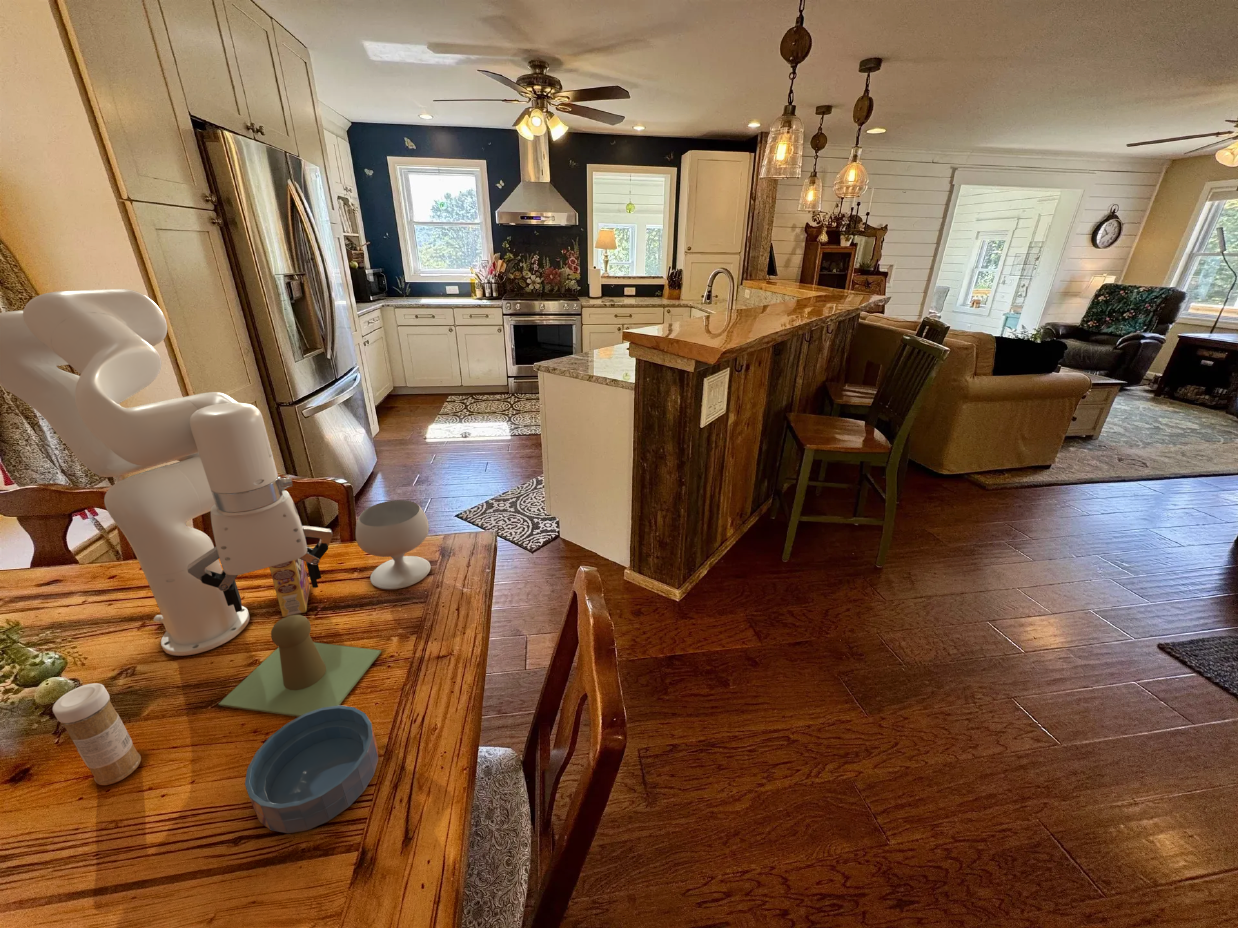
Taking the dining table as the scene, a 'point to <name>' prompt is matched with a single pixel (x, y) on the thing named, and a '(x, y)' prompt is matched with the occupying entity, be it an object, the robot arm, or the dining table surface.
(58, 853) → the dining table surface
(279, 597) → the candy box
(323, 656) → the mat
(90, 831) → the dining table surface
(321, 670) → the cork
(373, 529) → the chalice
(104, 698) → the sprinkles bottle
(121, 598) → the dining table surface
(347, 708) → the bowl
